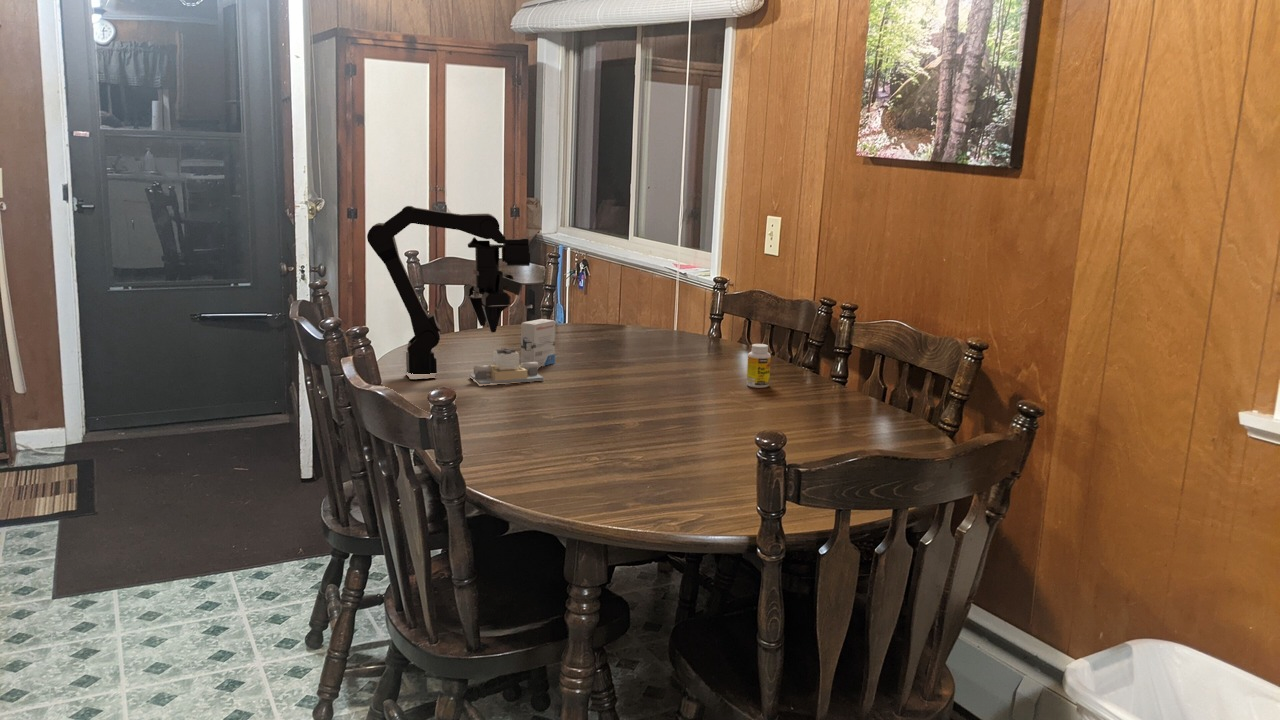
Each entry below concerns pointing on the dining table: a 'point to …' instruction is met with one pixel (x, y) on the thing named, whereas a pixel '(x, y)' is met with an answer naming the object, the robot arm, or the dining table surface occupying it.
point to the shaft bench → (507, 374)
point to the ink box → (538, 341)
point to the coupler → (505, 360)
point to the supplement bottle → (758, 366)
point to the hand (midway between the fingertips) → (487, 328)
